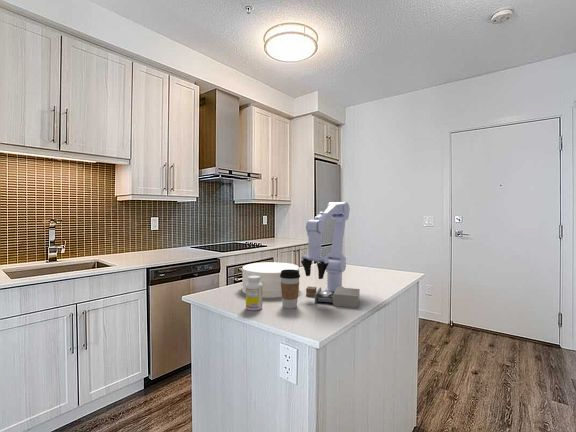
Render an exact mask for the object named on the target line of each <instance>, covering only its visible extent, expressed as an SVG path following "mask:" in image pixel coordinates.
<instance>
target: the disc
mask: <svg viewBox="0 0 576 432" xmlns="http://www.w3.org/2000/svg"><path fill="white" fill-rule="evenodd" d="M332 293H333V291H325V290H321V291H320V292H319V297H320V298H326V299H330V298H332Z"/></svg>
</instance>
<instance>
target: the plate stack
mask: <svg viewBox="0 0 576 432" xmlns="http://www.w3.org/2000/svg"><path fill="white" fill-rule="evenodd" d="M241 268H242V278H241V280H242V284H241V286H242V289H241V290H242V292H243V294H245V295H246V284H247V283H248V282H249V280H248V277H249V276H260V280H259V282H260V283H262V298H266V299H267V298H269V299H270V298H271V299H272V298H273V299H274V298H282V292H281V277H280V274H281V271H282V270H287V269H292V270H298V271H299V272H300V267H299V266H298V265H297V264H294V263H290V262H278V261H277V262H275V261H273V262H272V261H267V262H263V261H262V262H253V263H249V264H245V265H243V266H242V267H241ZM299 291H300V289H299V290H298V292H299Z"/></svg>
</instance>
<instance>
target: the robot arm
mask: <svg viewBox="0 0 576 432" xmlns="http://www.w3.org/2000/svg"><path fill="white" fill-rule="evenodd" d="M349 216H350V205H349V203H348V201H336V202H335V201H330V202H328V203H327V208H325V210H324V211H319V213H318V214H316V216H315V217H314V218H312V219H309V220H308V221H306V225H305V230H306V235H307V237H308V238H307V239H308V241H307V243H308V245H307V247H308V248H307V250H308V251H307V254H301V258H300V259H301V261H300V263H301V265H302V267H303V269H304V273H305V276H306V277H310V276H311V270H312V263H313V262H317V263H316V266H317V271H318V279H319V280H322V279H324V275H325V272H326V273H327V275H326V277H327V280H326V281H327V283H326V285H327V287H326V288H325V290H324V291H330V292H335V290H336V288H337V287H340V288H345V287H344V286H343V281H342V280H343V273H344V272H345V270H346V267H347V263H346V259H347V258H346V257H345V255H344V254H343V253H342V249H343V241H344V234H345V228H346V221H347V220H349ZM330 218H331V219H332V220H334V221H335V223H334V230H333V236H332V241H331V242H332V244H331V251H330V252H328V253H327V254H326V255H325V257H324V256H322V233H324V230H325V228H326V227H325V226H326V225H327V224H328V223H329V222H330Z"/></svg>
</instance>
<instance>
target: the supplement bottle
mask: <svg viewBox="0 0 576 432" xmlns="http://www.w3.org/2000/svg"><path fill="white" fill-rule="evenodd" d="M248 280H249V282H248V283H247V284H246V294H245V308H246V310H248V311H254V312H255V311H260V310H261V309H262V308H263V297H262V283H260V282H259V280H260V276H249V277H248Z"/></svg>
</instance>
